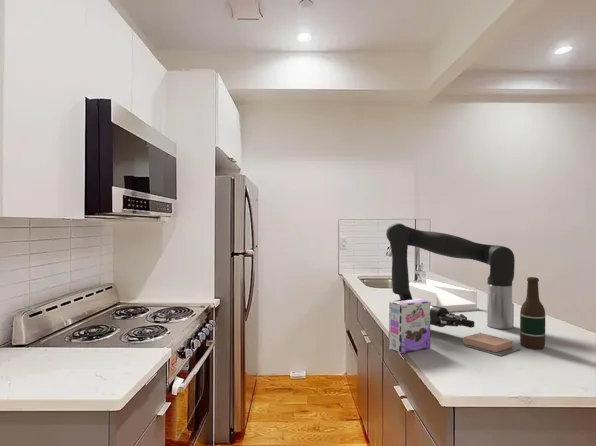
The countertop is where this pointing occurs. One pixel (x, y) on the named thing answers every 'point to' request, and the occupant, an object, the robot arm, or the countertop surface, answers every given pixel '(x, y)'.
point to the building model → (444, 295)
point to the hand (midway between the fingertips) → (473, 324)
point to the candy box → (409, 325)
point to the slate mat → (496, 352)
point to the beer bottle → (532, 318)
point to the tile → (488, 342)
